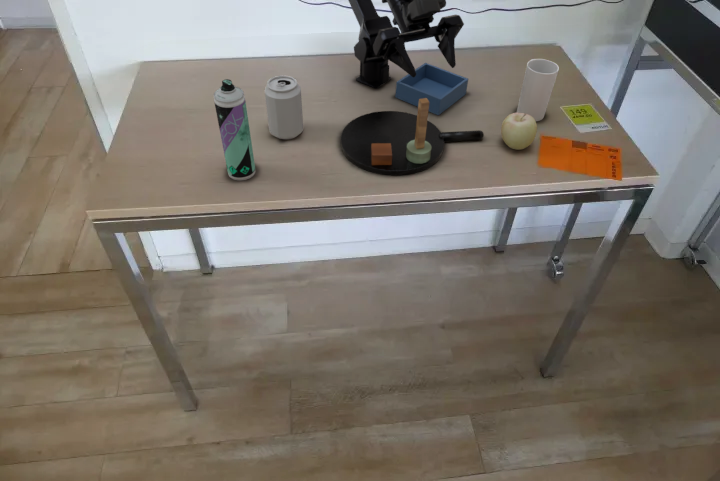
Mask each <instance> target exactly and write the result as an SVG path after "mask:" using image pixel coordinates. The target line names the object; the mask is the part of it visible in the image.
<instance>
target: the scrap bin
mask: <svg viewBox="0 0 720 481" xmlns="http://www.w3.org/2000/svg"><path fill="white" fill-rule="evenodd" d="M414 69H415V72H416V76H415V77H412V76H411V75H409V74H408V73H407V74H406V75H404V76H403V77H402V78H400V79H399V80H397V81H395V82H396V84H395V99H398V100H401V101H403V102H405V103H407V104H410V105H412V106H415V107H417V108H418V104H419V99H423V98H427V99H428V101H429V111H428V113H432V114H433V115H437V116H440V115H441V114H442V113H443V112H445V111H447V110H448V108H450V107H451V106H453V105H454V104H455V103H457V102H458V101H459V100H460V99H462V98H463V97H465V96H466V95H467V89H468V84H469V78H468V77H465V76H463V75H460V74H457V73H454V72H451V71H449V70H446V69H444V68H441V67H438V66H435V65H433V64H430V63H427V62H424V63H422V64H421V65H419V66H418V67H417V68H414Z"/></svg>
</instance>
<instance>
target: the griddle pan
mask: <svg viewBox="0 0 720 481" xmlns="http://www.w3.org/2000/svg"><path fill="white" fill-rule="evenodd" d="M416 124H417V115H416V114H413V113H411V112H406V111H398V110H382V111H379V110H378V111H374V112H373V111H372V112H369V113H366V114H361V115H360V116H357V117H356V118H354V119H353V120H351V121H349V122H348V123H347V124H346V125H345V126H344V128H343V130H342V131H341V135H340V148H341V151H342V153H343V155H344V156H345V158H346V159H347V160H348V161H349V162H351V163H352V164H353V165H355V166H356V167H358V168H360V169H362V170H364V171H367V172H370V173H373V174H378V175H384V176H406V175H407V176H409V175H413V174H417V173H420V172H423V171H425V170H428V169H429V168H431V167H432V166H434V165H435V164H436V163H437V162H439V160H441V157H442V156H443V153H444V148H445V142H446V143H447V142H465V141H480V140H482V139H483V138H484V136H485V133H484V131H482V130H479V129H478V130H477V129H476V130H460V131H459V130H457V131H440V129H439V127H437V126H436V125H435V124H434V123H432V122H431V121H430V120H428V119H427V128H426V136H425V141H427V142H428V143H430V145H431V147H432V148H431V156H430V160H429V161H428V162H426V163H422V164H416V163H412V162H410V161H409V160H408V159H407V158H406V149H407V144H408V143H409V142H410V141H412V140H415V133H416ZM372 143H391V149H392V165H372V161H371V144H372Z"/></svg>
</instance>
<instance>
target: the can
mask: <svg viewBox="0 0 720 481" xmlns="http://www.w3.org/2000/svg"><path fill="white" fill-rule="evenodd" d="M264 98H265V106H266V116H267V124H268V131H269V134H271V135H272V136H273V137H276V139H280V140H291V139H294V138H297V137H298V136H299V135H300V134H301V133H303V130H304V116H303V101H302V99H303V98H302V88H301V85H300V84H299V83H298V80H297V79H296V77H295V78H294V77H293V76H291V75H285V74H283V75H282V74H281V75H276V76H272V77H270V78H269V79H268V80H267V82H266V86H265V87H264Z"/></svg>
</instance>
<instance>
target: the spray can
mask: <svg viewBox="0 0 720 481" xmlns="http://www.w3.org/2000/svg"><path fill="white" fill-rule="evenodd" d="M213 102H214V108H215V112H216V119H217V123H218V128H219V129H218V130H219V133H220V139H221V144H222V151H223V156H224V158H225V166H226V170H227V175H228V177H229V178H231V179H232V180H234V181H246V180H250V179H251V178H253V177H254V175H255V174H256V164H255V157H254V150H253V143H252V142H253V141H252V136H251V129H250V123H249V117H248V115H249V114H248V109H247V101H246V95H245V92H244V90H243V89H242V88H240V87H238V86H236V85H234V84H233V81H232V79H228V78H225V79H223V80H222V81H221V86H220V87H219V88H218V89H217V90H215V91H214V92H213Z"/></svg>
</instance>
